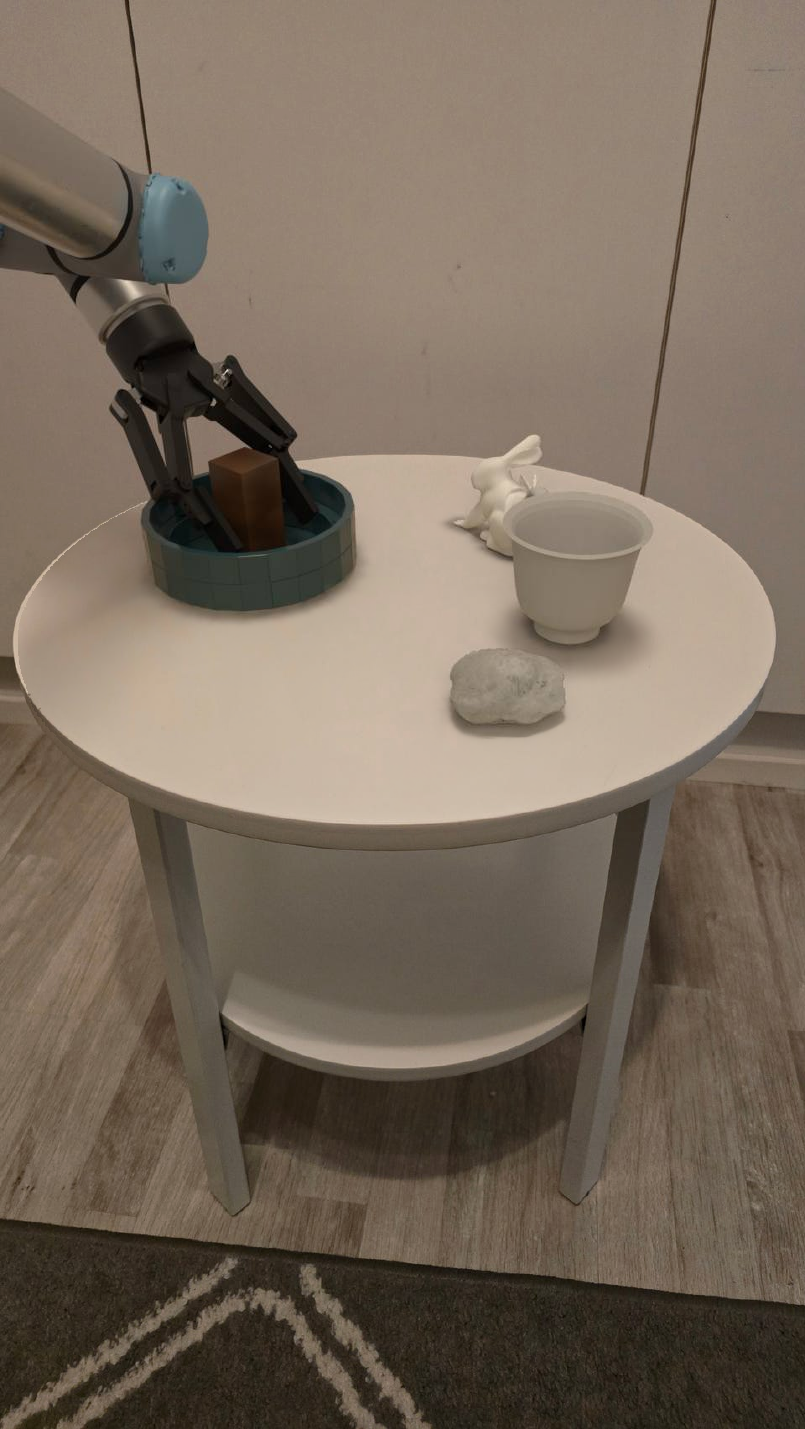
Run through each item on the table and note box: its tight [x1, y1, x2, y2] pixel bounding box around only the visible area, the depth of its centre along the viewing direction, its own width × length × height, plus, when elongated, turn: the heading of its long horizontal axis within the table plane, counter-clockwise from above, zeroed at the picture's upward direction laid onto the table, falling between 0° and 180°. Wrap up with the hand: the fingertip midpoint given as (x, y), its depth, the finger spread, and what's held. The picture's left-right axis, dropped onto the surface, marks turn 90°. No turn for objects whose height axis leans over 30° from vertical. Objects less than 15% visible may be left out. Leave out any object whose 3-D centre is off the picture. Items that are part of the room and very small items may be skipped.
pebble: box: [449, 647, 567, 725], centre depth 74 cm, size 9×8×5 cm
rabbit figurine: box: [452, 434, 543, 557], centre depth 96 cm, size 12×8×10 cm, turn 28°
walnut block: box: [207, 446, 286, 553], centre depth 92 cm, size 4×4×10 cm
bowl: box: [139, 468, 358, 613], centre depth 93 cm, size 20×20×6 cm
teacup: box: [503, 485, 654, 645], centre depth 83 cm, size 12×15×10 cm
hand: (273, 535), depth 91 cm, fingers open, 9 cm apart
